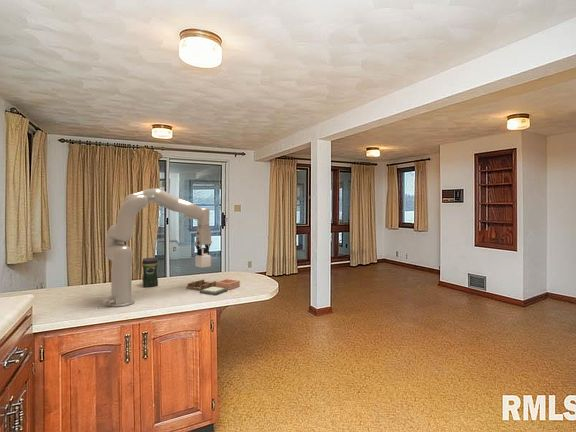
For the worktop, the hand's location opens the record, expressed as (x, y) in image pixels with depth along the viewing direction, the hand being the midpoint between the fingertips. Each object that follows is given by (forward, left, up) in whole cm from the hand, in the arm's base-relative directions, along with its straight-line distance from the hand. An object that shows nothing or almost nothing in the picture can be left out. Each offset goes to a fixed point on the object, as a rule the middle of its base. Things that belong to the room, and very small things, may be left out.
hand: (203, 254), depth 217 cm
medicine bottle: (0, 0, -8) cm, 8 cm away
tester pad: (-6, -14, -21) cm, 26 cm away
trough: (+1, +1, -21) cm, 21 cm away
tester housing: (-6, -14, -21) cm, 26 cm away
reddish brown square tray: (+8, -14, -21) cm, 27 cm away
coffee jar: (-13, +33, -22) cm, 42 cm away
